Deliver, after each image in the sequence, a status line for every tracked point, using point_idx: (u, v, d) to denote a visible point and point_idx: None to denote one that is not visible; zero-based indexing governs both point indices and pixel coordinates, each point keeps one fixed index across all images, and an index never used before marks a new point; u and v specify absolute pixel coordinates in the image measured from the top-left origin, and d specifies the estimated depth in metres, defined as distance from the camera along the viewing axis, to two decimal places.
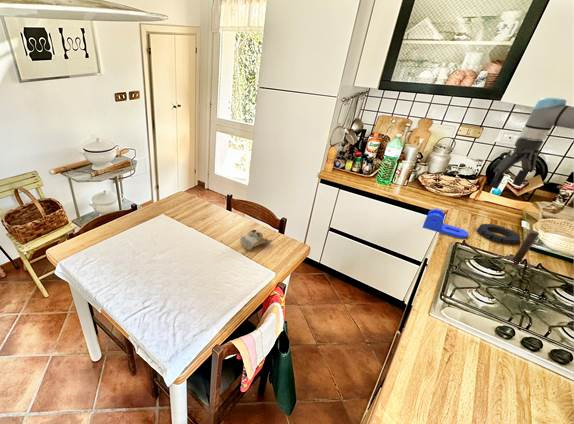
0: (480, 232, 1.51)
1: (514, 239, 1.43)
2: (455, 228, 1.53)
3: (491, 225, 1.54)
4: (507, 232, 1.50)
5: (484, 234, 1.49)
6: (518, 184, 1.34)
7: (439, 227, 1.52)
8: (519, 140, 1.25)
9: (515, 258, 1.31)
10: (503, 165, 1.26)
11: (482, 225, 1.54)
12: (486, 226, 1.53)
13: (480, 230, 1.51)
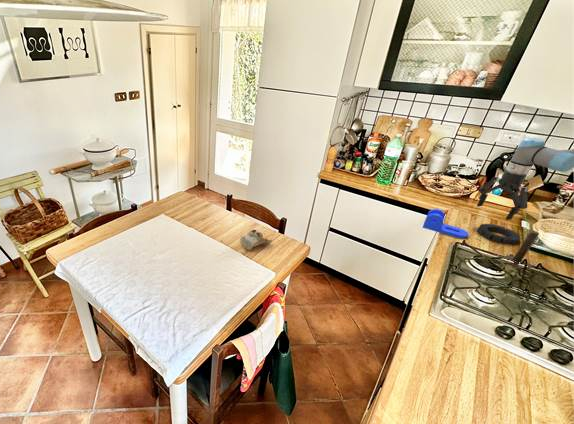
0: (480, 232, 1.51)
1: (514, 239, 1.43)
2: (455, 228, 1.53)
3: (491, 225, 1.54)
4: (507, 232, 1.50)
5: (484, 234, 1.49)
6: (481, 205, 1.56)
7: (439, 227, 1.52)
8: (520, 177, 1.38)
9: (515, 258, 1.31)
10: (526, 201, 1.38)
11: (482, 225, 1.54)
12: (486, 226, 1.53)
13: (480, 230, 1.51)
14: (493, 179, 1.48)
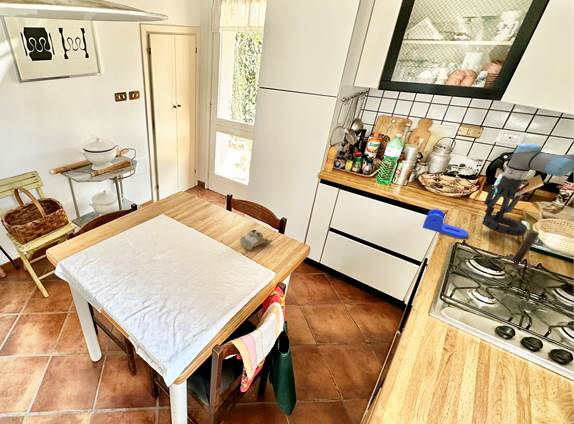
0: (486, 223, 1.48)
1: (521, 229, 1.40)
2: (455, 228, 1.53)
3: None
4: (513, 223, 1.47)
5: (490, 225, 1.46)
6: None
7: (439, 227, 1.52)
8: (517, 182, 1.39)
9: (515, 258, 1.31)
10: (513, 207, 1.43)
11: (488, 216, 1.51)
12: (492, 217, 1.50)
13: (486, 221, 1.49)
14: (491, 187, 1.50)
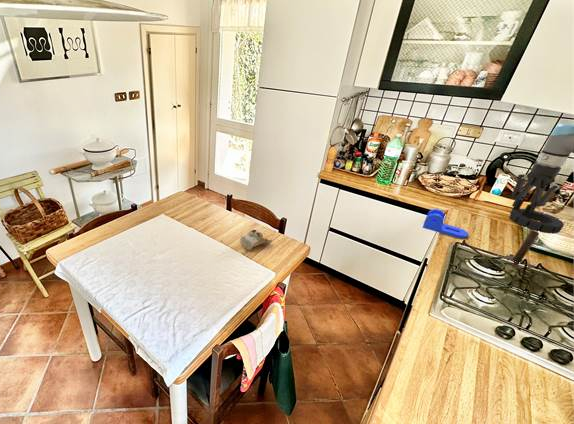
0: (514, 218, 1.27)
1: (557, 226, 1.19)
2: (455, 228, 1.53)
3: None
4: (547, 218, 1.26)
5: (519, 220, 1.25)
6: None
7: (439, 227, 1.52)
8: (554, 170, 1.17)
9: (515, 258, 1.31)
10: (547, 199, 1.22)
11: (515, 210, 1.30)
12: (520, 211, 1.29)
13: (514, 216, 1.27)
14: (520, 177, 1.28)
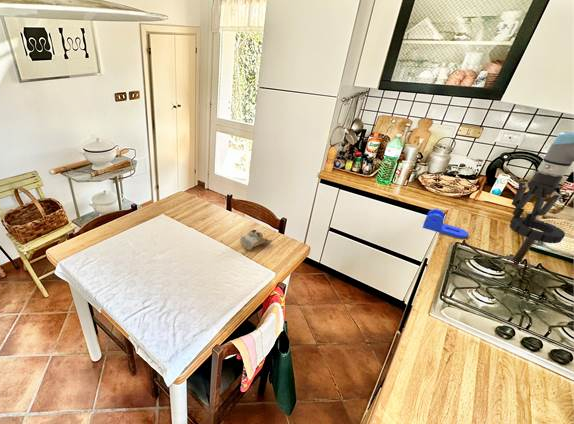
0: (514, 227, 1.25)
1: (558, 235, 1.17)
2: (455, 228, 1.53)
3: None
4: (547, 227, 1.24)
5: (520, 229, 1.23)
6: None
7: (439, 227, 1.51)
8: (556, 179, 1.15)
9: (515, 258, 1.31)
10: (549, 209, 1.20)
11: (516, 219, 1.28)
12: (521, 220, 1.27)
13: (514, 225, 1.25)
14: (521, 185, 1.26)
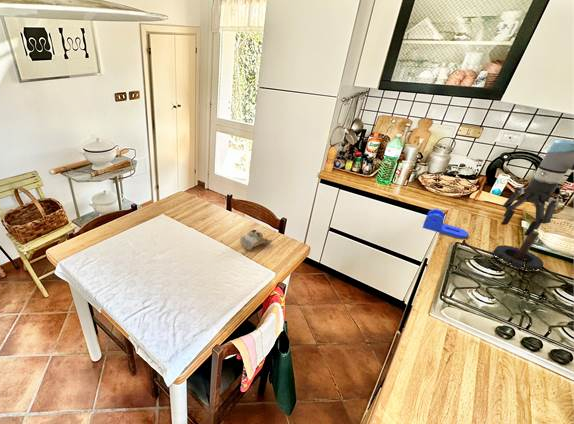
0: (497, 256, 1.32)
1: (537, 265, 1.25)
2: (455, 228, 1.53)
3: (508, 247, 1.36)
4: (527, 256, 1.31)
5: (502, 258, 1.30)
6: (507, 223, 1.34)
7: (439, 227, 1.51)
8: (551, 186, 1.17)
9: (515, 258, 1.31)
10: (551, 215, 1.19)
11: (498, 247, 1.35)
12: (503, 248, 1.35)
13: (497, 253, 1.33)
14: (517, 190, 1.28)
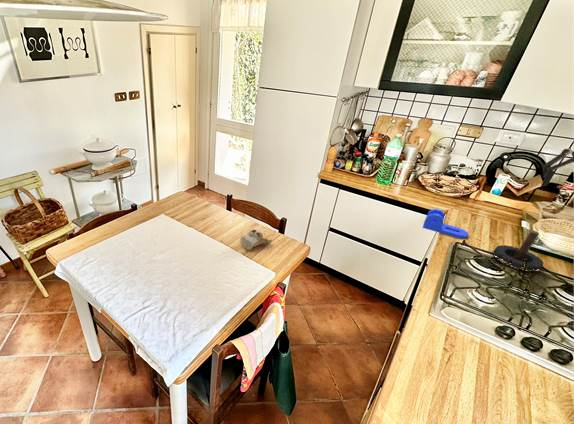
0: (497, 256, 1.32)
1: (537, 265, 1.25)
2: (455, 228, 1.53)
3: (508, 247, 1.36)
4: (527, 256, 1.31)
5: (502, 258, 1.30)
6: (546, 184, 1.30)
7: (439, 227, 1.51)
8: None
9: (515, 258, 1.31)
10: None
11: (498, 247, 1.35)
12: (503, 248, 1.35)
13: (497, 253, 1.33)
14: (564, 152, 1.22)
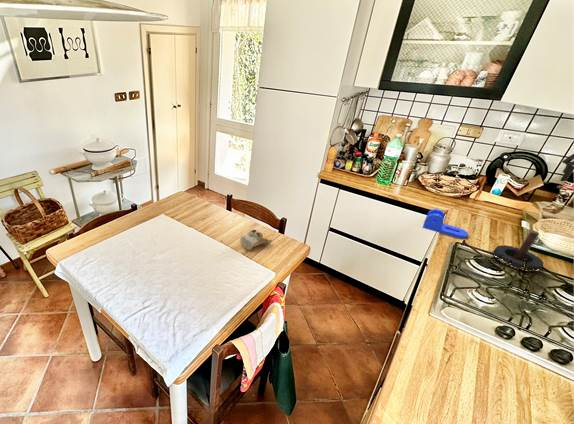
0: (497, 256, 1.32)
1: (537, 265, 1.25)
2: (455, 228, 1.53)
3: (508, 247, 1.36)
4: (527, 256, 1.31)
5: (502, 258, 1.30)
6: (566, 179, 1.31)
7: (439, 227, 1.51)
8: None
9: (515, 258, 1.31)
10: None
11: (498, 247, 1.35)
12: (503, 248, 1.35)
13: (497, 253, 1.33)
14: None
